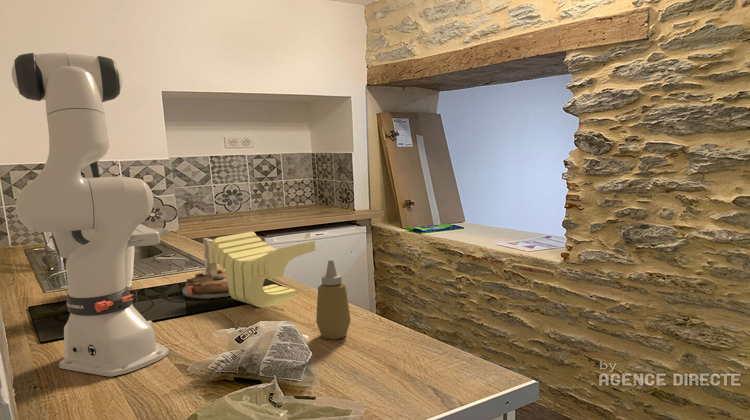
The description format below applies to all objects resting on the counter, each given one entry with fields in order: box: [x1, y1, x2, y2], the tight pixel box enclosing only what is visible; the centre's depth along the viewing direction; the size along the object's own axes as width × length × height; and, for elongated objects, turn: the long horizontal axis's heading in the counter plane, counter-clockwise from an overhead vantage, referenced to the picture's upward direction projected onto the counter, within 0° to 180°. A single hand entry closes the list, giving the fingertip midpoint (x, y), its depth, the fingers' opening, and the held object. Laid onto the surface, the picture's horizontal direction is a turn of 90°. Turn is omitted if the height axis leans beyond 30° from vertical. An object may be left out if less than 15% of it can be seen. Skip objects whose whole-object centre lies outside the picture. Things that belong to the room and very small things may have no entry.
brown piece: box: [186, 237, 229, 294], centre depth 162 cm, size 19×19×14 cm
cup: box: [124, 246, 136, 288], centre depth 169 cm, size 12×12×16 cm
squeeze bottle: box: [315, 259, 352, 340], centre depth 119 cm, size 8×8×18 cm
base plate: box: [182, 285, 230, 300], centre depth 163 cm, size 22×22×3 cm
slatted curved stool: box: [209, 231, 316, 309], centre depth 149 cm, size 30×16×18 cm, turn 48°
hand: (166, 231), depth 158 cm, fingers closed
